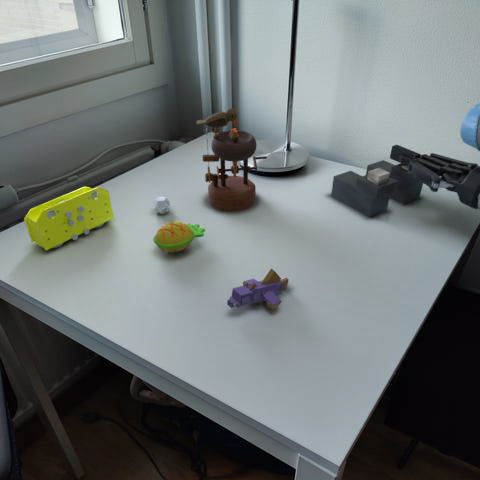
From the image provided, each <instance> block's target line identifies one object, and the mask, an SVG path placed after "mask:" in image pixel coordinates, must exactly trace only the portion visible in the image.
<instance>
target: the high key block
mask: <svg viewBox="0 0 480 480" xmlns="http://www.w3.org/2000/svg"><path fill="white" fill-rule="evenodd" d="M367 177H368V175H366V174H365V175H360V174H359V173H357V172H355V171H353V170H349V171H345V172H342V173H340V174H336V175H333V179H332V186H331V194H330V196H331V197H333V198H334V199H336V200H338V201H339V202H341V203H343V204H345V205H347V206H349V207H350V208H352V209H353V210H356V211H357V212H358V213H361V214H362V215H364V216H366V217H368V218H373V217H374V216H376V215H379V214H382V213H385V212H387V210H388V207H389V203H390V199H391V198H390V194H391V193H393V192H396V189H397V185H398V181H397V180H395V179H393V178H391V177H389V178H388V181H387V182H385V183H382V184H379V185H377V184H375V183H373V182H371V181H369V180H367Z"/></svg>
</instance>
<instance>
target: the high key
mask: <svg viewBox="0 0 480 480" xmlns="http://www.w3.org/2000/svg"><path fill="white" fill-rule="evenodd" d="M389 174H390V173H389V172H387V171H385V170H382V169H380V168H377V169H374V170H371V171H368V177H367V180H369V181H371V182H373V183H375V184H377V185H379V184H382V183H385V182H387V181H388V178H389Z"/></svg>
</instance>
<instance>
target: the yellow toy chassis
mask: <svg viewBox="0 0 480 480" xmlns="http://www.w3.org/2000/svg"><path fill="white" fill-rule="evenodd" d="M110 198H111V197H110V193H109V190H107V189H104V188H103V187H100V186H96V187H95V188H92V187H89V186H82V187H80V188H78V189H76V190H73V191H70V192H68V193H66V194H63V195H61V196H58V197H56V198H54V199H51V200H49V201H47V202H44V203H41V204H39V205H37V206H34V207H32V208H30V209H29V211H28V212H27V214H26V215H25V216H24V218H23V222H24V224H25V227H26V229H27V232H28V235H29V238H30V241H31V243H35V244H36V245H38V246H39V247H41V248H43V249H44V250H45V251H48V250H50V249H57V248H60V247H62V246H63V245H64V243H65V242H67V241H69V240H73V241H77V240H78V239H79V236H80V235H82V234H84V235H86V236H87V235H89V234H90V230H92V229H97V228H101V227H103V226H104V224H105V223H106V222H109V221H111V220H113V219H114V218H115V217H114V212H113V208H112V203H111V199H110Z"/></svg>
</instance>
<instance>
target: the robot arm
mask: <svg viewBox="0 0 480 480" xmlns="http://www.w3.org/2000/svg"><path fill="white" fill-rule="evenodd" d="M459 134H460V138H461V140H462V143H464V144H466V145H468V146H470V147H472V148H474V149H476V150H477V151H478V152H480V102H478V103H476V104H475V105H474V107H471V108H470V109H469V110H468V111H467V112H466V114H465V116H464V118H463V119H462V122H461V124H460V132H459ZM389 159H390V160H393V161H394V162H397V163H398V164H400V163H402V164H404V165H406V166H409V167H408V172H407V173H409V174H410V175H412V176H413V177H415V178H416V179H418V180H419V181H421V182H422V183H423V185H425V186H427V187H428V188H429V189H430V191H431V192H433V193H438V191H439V189H445V190H446V191H448V192H451V193H455V194H457V196H458V200H459V202H460V203H461V204H463V205H465V206H467V207H470V208H472V209H474V210H478V211H480V165H479V164H478V163H473V162H468V161H463V160H459V159H456V158H452V157H448V156H445V155H442V154H438V153H434V152H431V153H430V154H429V155H428V154H427V153H423V154H421V153H420V152H416V151H414V150H411V149H409V148H406V147H404V146H402V145H399V144H394V145H392V146H391V150H390V155H389Z"/></svg>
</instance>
